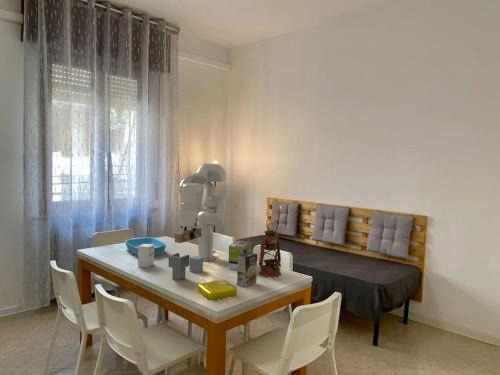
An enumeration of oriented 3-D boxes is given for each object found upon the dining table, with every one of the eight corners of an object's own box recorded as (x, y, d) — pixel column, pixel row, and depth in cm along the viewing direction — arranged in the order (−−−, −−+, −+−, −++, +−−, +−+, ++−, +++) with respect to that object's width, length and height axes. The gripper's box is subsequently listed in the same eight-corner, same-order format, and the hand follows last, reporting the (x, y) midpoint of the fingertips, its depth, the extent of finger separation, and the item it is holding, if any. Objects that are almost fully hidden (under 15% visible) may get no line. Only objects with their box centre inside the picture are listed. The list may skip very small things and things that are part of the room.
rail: (195, 235, 218) (196, 227, 217) (201, 236, 216) (201, 228, 215) (174, 242, 200) (174, 233, 199) (180, 243, 198) (180, 234, 198)
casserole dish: (121, 248, 265) (121, 238, 265) (151, 244, 278) (151, 235, 278) (138, 260, 235) (138, 249, 235) (171, 256, 248) (171, 245, 248)
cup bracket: (177, 275, 207) (177, 252, 206) (189, 277, 204) (189, 254, 203) (168, 279, 200) (168, 256, 199) (180, 282, 197) (180, 258, 196)
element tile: (197, 292, 184) (197, 282, 184) (223, 287, 192) (224, 278, 191) (210, 302, 171) (210, 292, 171) (238, 296, 179) (238, 287, 179)
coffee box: (245, 287, 191) (246, 257, 189) (236, 284, 195) (237, 255, 193) (256, 283, 198) (257, 254, 196) (247, 280, 202) (248, 251, 200)
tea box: (236, 262, 236) (237, 239, 235) (251, 264, 233) (252, 241, 232) (228, 269, 222) (228, 245, 221) (243, 271, 219) (244, 246, 218)
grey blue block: (194, 268, 220) (194, 255, 220) (202, 270, 218) (203, 257, 217) (189, 271, 216) (189, 257, 215) (198, 272, 213) (198, 259, 212)
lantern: (267, 280, 204) (268, 226, 201) (251, 274, 214) (253, 222, 211) (288, 274, 215) (290, 223, 212) (272, 268, 224) (274, 220, 222)
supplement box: (148, 267, 220) (149, 247, 219) (137, 266, 222) (137, 246, 221) (154, 264, 227) (154, 244, 226) (143, 263, 229) (143, 243, 228)
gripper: (172, 205, 207) (172, 237, 208) (197, 208, 199) (197, 241, 201) (181, 204, 213) (180, 235, 215) (205, 206, 206) (204, 239, 207)
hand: (188, 238), depth 208 cm, fingers closed on rail, 4 cm apart
